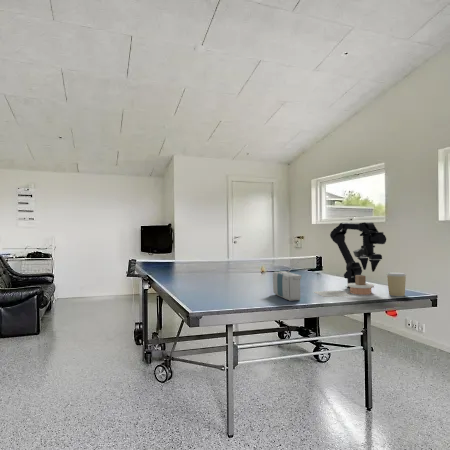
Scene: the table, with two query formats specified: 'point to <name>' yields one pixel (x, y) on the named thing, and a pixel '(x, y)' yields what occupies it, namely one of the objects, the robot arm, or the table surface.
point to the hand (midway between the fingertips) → (368, 270)
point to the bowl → (360, 290)
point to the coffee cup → (396, 283)
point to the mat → (332, 293)
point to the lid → (360, 282)
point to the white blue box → (287, 285)
